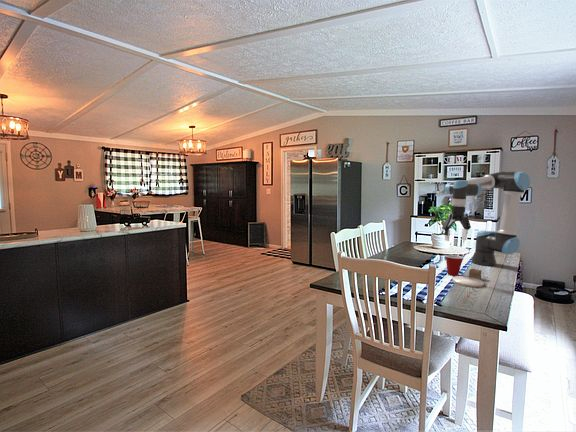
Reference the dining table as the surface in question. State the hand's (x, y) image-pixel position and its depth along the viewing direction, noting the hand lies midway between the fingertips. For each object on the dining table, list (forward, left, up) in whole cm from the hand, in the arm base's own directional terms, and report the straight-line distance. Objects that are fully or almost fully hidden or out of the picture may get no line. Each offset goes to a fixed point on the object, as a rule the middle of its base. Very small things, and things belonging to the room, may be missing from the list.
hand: (455, 240), depth 210 cm
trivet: (+4, +15, -22) cm, 27 cm away
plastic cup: (0, 0, -22) cm, 22 cm away
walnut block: (-8, +9, -22) cm, 25 cm away
